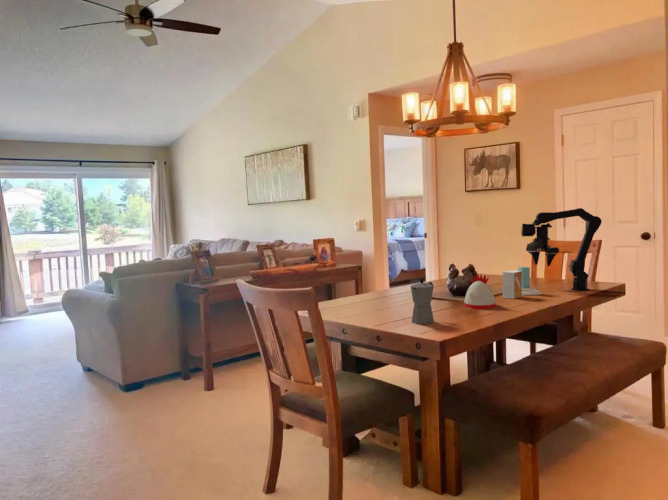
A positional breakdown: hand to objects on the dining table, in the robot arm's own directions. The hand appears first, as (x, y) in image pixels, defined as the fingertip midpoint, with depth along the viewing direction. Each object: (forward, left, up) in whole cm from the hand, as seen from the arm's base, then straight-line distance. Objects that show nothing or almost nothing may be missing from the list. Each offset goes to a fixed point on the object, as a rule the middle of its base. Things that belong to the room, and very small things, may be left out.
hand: (542, 265), depth 277 cm
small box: (+27, +10, -13) cm, 32 cm away
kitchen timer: (+53, +20, -13) cm, 58 cm away
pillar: (+15, +4, -12) cm, 19 cm away
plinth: (+15, +4, -13) cm, 20 cm away
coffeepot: (+91, +36, -13) cm, 99 cm away
